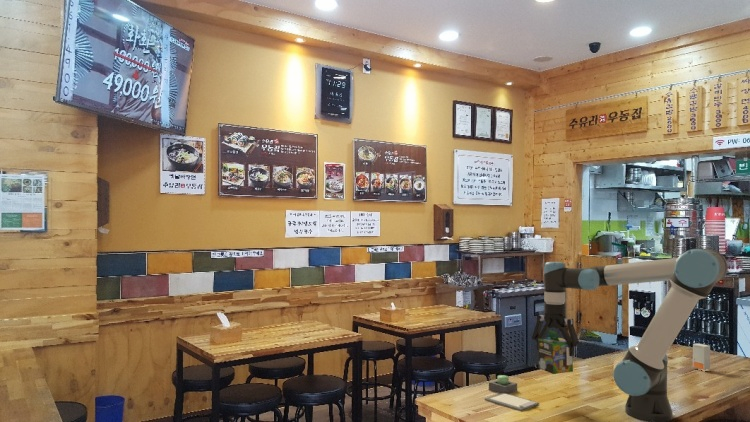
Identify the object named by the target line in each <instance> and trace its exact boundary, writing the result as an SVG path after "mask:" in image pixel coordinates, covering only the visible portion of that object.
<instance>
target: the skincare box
mask: <svg viewBox="0 0 750 422" xmlns="http://www.w3.org/2000/svg"><path fill="white" fill-rule="evenodd" d="M693 367H694V368H698V369H703V370H706V369H710V370H711V346H710V345H708V344H703V343H698V342H697V343H693V344H692V368H693Z"/></svg>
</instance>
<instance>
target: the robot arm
mask: <svg viewBox="0 0 750 422" xmlns="http://www.w3.org/2000/svg"><path fill="white" fill-rule="evenodd" d="M543 267H544V270H543V276H544V277H543V278H544V279H543V281H544V282H543V284H544V290H543V292H544V295H543V297H544V302H545V303H544V305H543V306H544V309H543V310H544V311H543V312H544V315H543V314H539V315H537V316H536V323H535V327H534V330H533V333H532V336H531V339H532V340H534V341H536V350H537V351H538V339H541V338H546V335H547V333H549V330H550V329H553V328H554V329H556V330H557V329H558V331H559V332H560V333H561V335H562V338H563V339H565V341H566V342H567V344H568V347H567V365H572V356H573V357H574V356H575V347H579V346H580V341H579V339H578V335H577V332H576V328H575V326H574V319H573V318H567V317H566V304H565V303H566V289H575V290H576V289H577V290H584V291H594V290H597V289H598V288H599V287H607V286H618V285H619V286H620V285H631V284H643V283H655V282H666V281H667V282H669V281H670V288H669V290H668V291H667V293H666V295H665V297H664V298H663V300H662V302H661V304H660V305H659V307H658V308H657V311H656V312H655V314H654V316H653V317H652V319H651V320H650V323H649V324H648V326H647V328H646V330H645V331H644V332H643V334H642V337H641V338H640V340H639V341H638V343H637V345H635V346H631V347H629V348H628V351H627V352H626V354H625V356H624V357H623V359H622V360H621V361H620V362H617V364H616V366H615V367H614V368H613V376H612V377H613V380H614V383H615V384H616V386H617V387H618V389H619V390H620V391H621V392H623V393H624V394H626V395H628V397H627V400H626V403H625V408H624V409H625V413H626V414H627V415H629V416H631V417H633V418H635V419H638V420H642V421H648V422H669V421H670V422H671V421H672V420H673V415H674V414H673V410H672V407H671V406H672V405H671V403H670V400H669V398H668V363H669V361H668V356H667V353H668V352H669V350H670V348H671V346H672V344H673V343H674V342H675V340H676V339H677V337H678V335H679V333H680V331H681V330H682V329H683V327H684V325H685V324H686V322H687V320H688V318H689V317H690V316H691V313H693V310H694V308H695V307H696V305H697V303H698V302H699V301H700V300H702V299H706V298H708V297H709V294H710V293H711V291H712V289H713V288H714V286H715V284H716V283H718V282H720V281H721V280H723V279H724V278H725V276H726V275H727V273H728V262H727V260H726V258H725V256H724V255H723V254H722V253H720V252H719V251H717V250H715V249H711V248H692V249H688V250H686V251H685V252H683V253H682V254H680V255H679V256H678V257H672V258H671V257H670V258H663V259H653V260H644V261H635V262H628V263H627V262H626V263H617V264H610V265H599V266H597V265H596V266H595V265H594V266H589V267H583V268H582V267H581V268H580V267H579V268H574V267H572V268H569V267H566V265H565V262H561V261H546V262H545V264H544V266H543ZM544 321H545V323H544ZM543 323H544V325H543ZM542 326H543V327H542ZM566 326H567V327H566ZM567 329H568V330H567Z"/></svg>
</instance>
